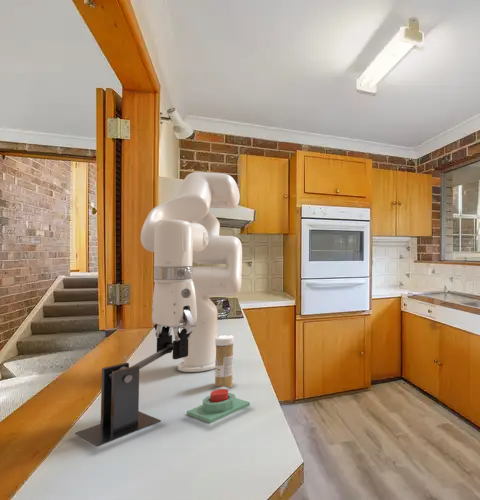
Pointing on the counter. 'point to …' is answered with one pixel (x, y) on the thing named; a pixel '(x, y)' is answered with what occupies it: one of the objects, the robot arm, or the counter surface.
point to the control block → (217, 408)
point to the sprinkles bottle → (224, 361)
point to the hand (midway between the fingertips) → (172, 354)
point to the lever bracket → (118, 406)
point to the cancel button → (219, 395)
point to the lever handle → (150, 357)
